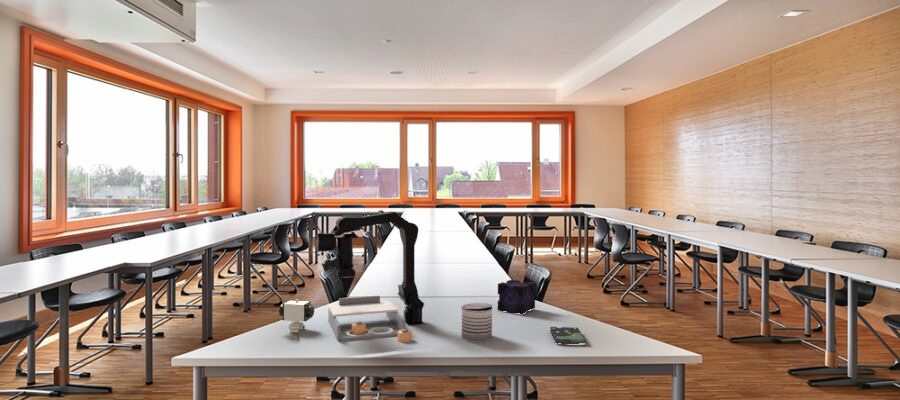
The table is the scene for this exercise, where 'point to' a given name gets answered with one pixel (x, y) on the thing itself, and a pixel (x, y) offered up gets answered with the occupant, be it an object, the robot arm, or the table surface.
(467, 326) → the can
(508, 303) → the energy cube
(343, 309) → the lid
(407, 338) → the orange grey rounded piece
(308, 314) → the pneumatic valve
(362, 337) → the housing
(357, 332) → the orange grey domed knob
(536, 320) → the table surface
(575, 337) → the disk drive
